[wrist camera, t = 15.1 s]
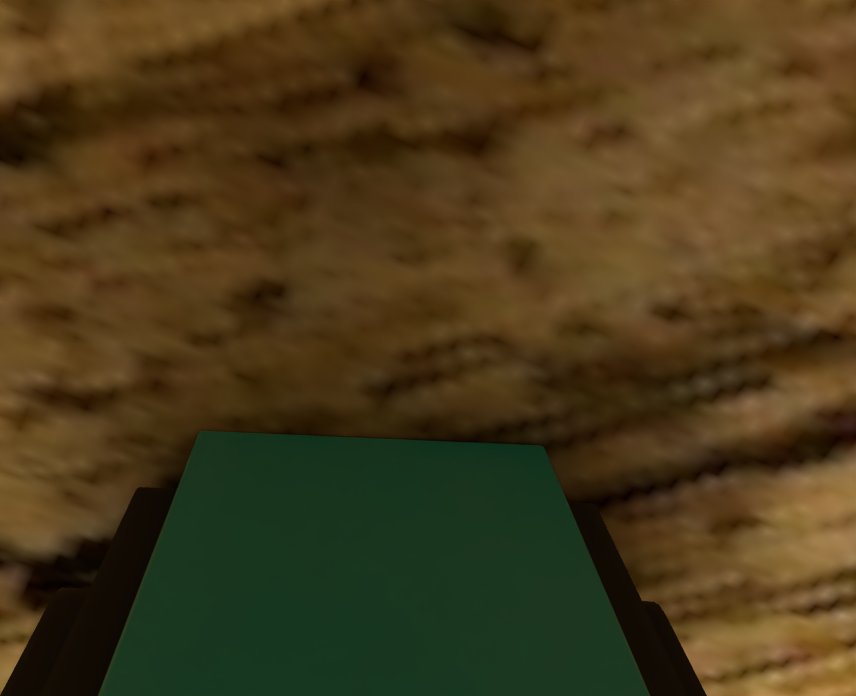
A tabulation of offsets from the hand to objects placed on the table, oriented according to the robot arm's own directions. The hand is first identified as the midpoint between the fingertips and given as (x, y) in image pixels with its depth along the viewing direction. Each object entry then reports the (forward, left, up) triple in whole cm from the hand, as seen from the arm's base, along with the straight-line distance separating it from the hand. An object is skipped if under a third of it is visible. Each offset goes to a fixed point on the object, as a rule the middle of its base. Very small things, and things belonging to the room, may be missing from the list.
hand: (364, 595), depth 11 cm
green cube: (0, 0, 0) cm, 0 cm away
